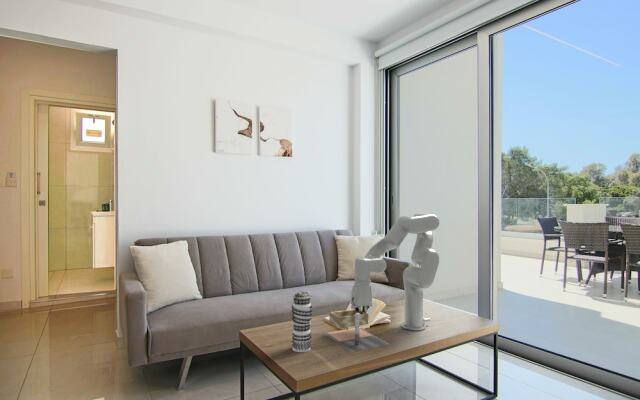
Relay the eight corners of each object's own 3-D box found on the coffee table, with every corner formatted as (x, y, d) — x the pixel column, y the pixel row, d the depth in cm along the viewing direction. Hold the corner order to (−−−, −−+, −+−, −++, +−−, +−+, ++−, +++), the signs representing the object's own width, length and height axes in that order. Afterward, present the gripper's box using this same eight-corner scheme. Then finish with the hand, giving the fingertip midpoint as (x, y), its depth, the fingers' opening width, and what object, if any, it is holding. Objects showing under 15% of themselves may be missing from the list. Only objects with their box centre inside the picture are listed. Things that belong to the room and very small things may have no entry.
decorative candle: (300, 343, 181) (301, 289, 181) (316, 348, 175) (316, 292, 175) (287, 348, 174) (287, 293, 174) (302, 354, 168) (302, 296, 168)
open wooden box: (357, 318, 198) (357, 308, 198) (368, 324, 189) (368, 314, 189) (329, 322, 191) (329, 312, 191) (339, 328, 182) (339, 317, 182)
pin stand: (359, 329, 201) (360, 299, 201) (390, 346, 178) (390, 312, 178) (323, 335, 192) (323, 303, 192) (350, 354, 168) (350, 318, 168)
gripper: (371, 280, 200) (370, 316, 200) (344, 282, 193) (343, 319, 193) (379, 283, 193) (378, 320, 193) (352, 285, 186) (351, 324, 186)
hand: (361, 319), depth 193 cm, fingers closed on open wooden box, 1 cm apart
